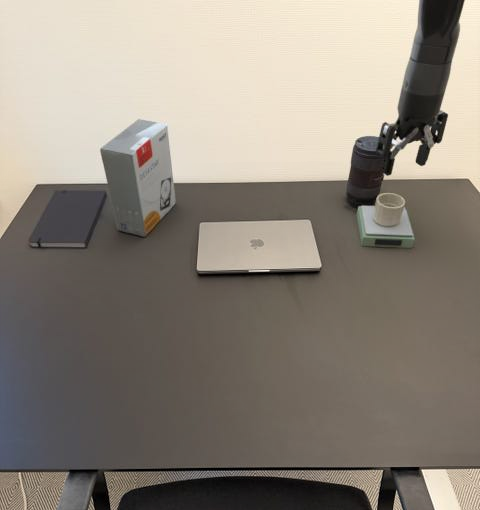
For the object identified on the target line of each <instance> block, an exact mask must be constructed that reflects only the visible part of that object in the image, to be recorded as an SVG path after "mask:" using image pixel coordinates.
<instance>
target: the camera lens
mask: <svg viewBox="0 0 480 510" xmlns="http://www.w3.org/2000/svg"><path fill="white" fill-rule="evenodd" d="M378 139H379V136H375V135H365V136H360V137H358V138H356V140H355V141H354V144H353V147H352V151H351V158H350V167H349V172H348V173H349V174H348V178H347V183H346V193H345V195H346V202H347V204H348V205H350V207H353V208H356V209H358V206H375V203H376V198H377V197H378V195H380V193H381V189H382V184H383V183H382V182H383V181H384V178H385V174H384V173H383V172H382V171H381V166H382V161H383V157H382V156H380V155H379V154H377V153H376V147H377V143H378ZM383 148H384V145H383Z"/></svg>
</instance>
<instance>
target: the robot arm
mask: <svg viewBox="0 0 480 510" xmlns="http://www.w3.org/2000/svg"><path fill="white" fill-rule="evenodd" d="M465 1H466V0H418V8H417V24H416V29H415V32H414V36H413V41H412V46H411V49H410V54H409V59H408V61H407V65H406V68H405V70H404V75H403V80H402V84H401V88H400V89H401V90H400V94H399V98H398V103H397V107H396V108H397V114H398V116H397V119H396V121H395V122H393V123H388V122H387V121H384V122H383V123H382V124H381V128H380V132H379V136H378V137H379V139H378V143H377V147H376V153H377V154H379V155H380V156H382V157H383V161H382V166H381V171H382V172H383V173H384V176H387V177H389V176H391V175H392V173H393V169H394V164H395V161H396V157H397V155H398V154H399V152H400V151H402V150H404V149H405V147H406V146H407V145H409V144H411V143H414V142H420V144H419V146H418V149H417V153H416V157H415V164H417V165H418V166H420V167H424V166H425V165H426V164H427V162H428V160H429V157H430V156H429V155H430V152H431V149H432V148H433V147H434V146H435V145H436V144H441V143H442V141H443V137H444V133H445V129H446V126H447V122H448V118H449V114H448V113H446V112H445V111H443V110H441V108H442V105H443V101H444V96H445V95H446V94H445V93H446V90H447V86H448V83H449V79H450V75H451V71H452V65H453V59H454V56H455V52H456V49H457V45H458V41H459V38H460V33H461V24H460V19H461V17H462V13H463V8H464V4H465ZM398 139H399V140H400V142H399V141H398ZM383 145H384V148H383Z"/></svg>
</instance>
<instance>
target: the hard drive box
mask: <svg viewBox="0 0 480 510" xmlns="http://www.w3.org/2000/svg"><path fill="white" fill-rule="evenodd" d="M99 151H100V156H101V161H102V165H103V169H104V170H103V171H104V174H105V178H106V183H107V188H108V192H109V197H110V201H111V205H112V210H113V216H114V219H115V224H116V230H117V231H119V232H124V233H127V234H131V235H135V236H140V237H143V238H145V237H147V236H148V235H149V233H150V232H152V231H153V230H154V229H155V227H156V226H157V225H158V224H159V222H160V221H162V219H163V218H164V217H165V216H166V215H167V214H168V213H169V212H170V211H171V209H172V208H173V207H174V206H175V205H176V204H177V201H176V200H177V199H176V193H175V192H176V191H175V184H174V183H175V181H174V174H173V165H172V156H171V147H170V139H169V129H168V123H163V122H157V121H152V120H145V119H140V118H138V119H137V120H136V121H134V122H133V123H131V124H130V125H128V127H126V128H125V129H124V130H122V131H121V132H120V133H118V134H117V135H116V136H115V137H113V138H112V139H111V140H110V141H108V142H107V143H105V144H104V145H102V146H101V147H100V149H99Z"/></svg>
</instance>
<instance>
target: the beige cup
mask: <svg viewBox="0 0 480 510" xmlns="http://www.w3.org/2000/svg"><path fill="white" fill-rule="evenodd" d="M405 205H406V200H405V198H404V197H402V196H401V195H400V194H398V193H393V192H384V193H379V194H378V197H377V198H376V201H375V202H374V206H375V207H374V211H373V215H372V216H373V219H374V220H375V222H376V223H377V224H379V225H381V226H386V227H390V226H394V225H396V224H398V223H399V222H400V219H401V216H402V212H403V209H404V207H405Z"/></svg>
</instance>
